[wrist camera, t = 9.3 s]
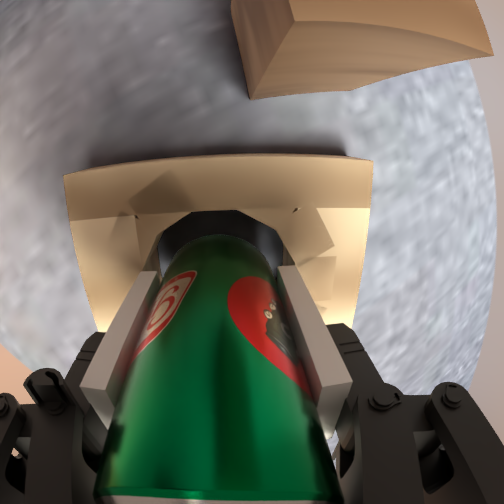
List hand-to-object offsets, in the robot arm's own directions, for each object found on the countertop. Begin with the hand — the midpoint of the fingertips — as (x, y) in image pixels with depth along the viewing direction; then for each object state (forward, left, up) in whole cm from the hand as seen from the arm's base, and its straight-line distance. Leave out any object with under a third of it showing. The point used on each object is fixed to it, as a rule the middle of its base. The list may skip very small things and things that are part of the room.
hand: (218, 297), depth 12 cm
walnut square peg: (-12, +4, -4) cm, 13 cm away
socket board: (+4, 0, -4) cm, 6 cm away
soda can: (0, 0, -2) cm, 2 cm away
